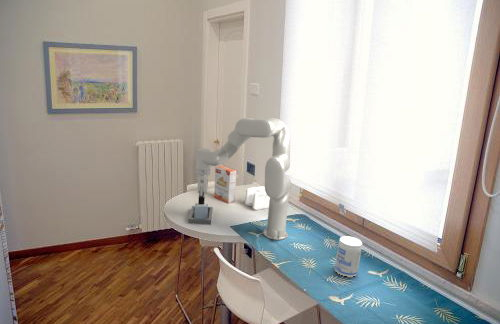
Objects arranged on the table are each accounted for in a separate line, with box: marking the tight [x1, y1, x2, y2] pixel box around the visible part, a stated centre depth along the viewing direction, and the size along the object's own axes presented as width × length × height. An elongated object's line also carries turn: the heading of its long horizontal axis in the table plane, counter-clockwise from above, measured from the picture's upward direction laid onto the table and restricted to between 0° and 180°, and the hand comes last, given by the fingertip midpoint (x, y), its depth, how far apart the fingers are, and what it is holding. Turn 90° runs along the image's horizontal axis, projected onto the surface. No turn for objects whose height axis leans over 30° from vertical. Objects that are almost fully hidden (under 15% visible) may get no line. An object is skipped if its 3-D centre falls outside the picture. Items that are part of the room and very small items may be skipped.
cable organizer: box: [244, 185, 270, 211], centre depth 227 cm, size 15×11×12 cm
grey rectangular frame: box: [187, 205, 213, 225], centre depth 205 cm, size 20×12×2 cm, turn 3°
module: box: [193, 202, 209, 219], centre depth 204 cm, size 5×7×7 cm
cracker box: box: [213, 165, 238, 204], centre depth 234 cm, size 14×6×21 cm, turn 45°
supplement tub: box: [334, 235, 363, 278], centre depth 156 cm, size 10×10×15 cm
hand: (201, 203), depth 204 cm, fingers closed
